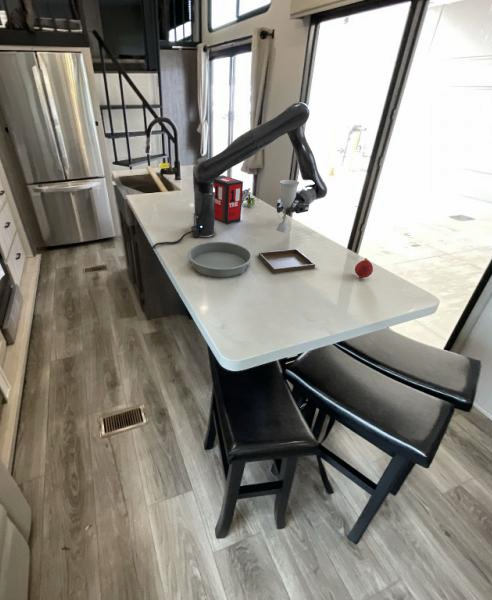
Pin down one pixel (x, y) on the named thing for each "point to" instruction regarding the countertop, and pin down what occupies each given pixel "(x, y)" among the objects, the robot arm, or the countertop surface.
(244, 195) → the passion flower
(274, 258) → the tray
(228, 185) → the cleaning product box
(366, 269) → the onion
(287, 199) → the chalice
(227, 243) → the cake pan
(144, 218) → the countertop surface
